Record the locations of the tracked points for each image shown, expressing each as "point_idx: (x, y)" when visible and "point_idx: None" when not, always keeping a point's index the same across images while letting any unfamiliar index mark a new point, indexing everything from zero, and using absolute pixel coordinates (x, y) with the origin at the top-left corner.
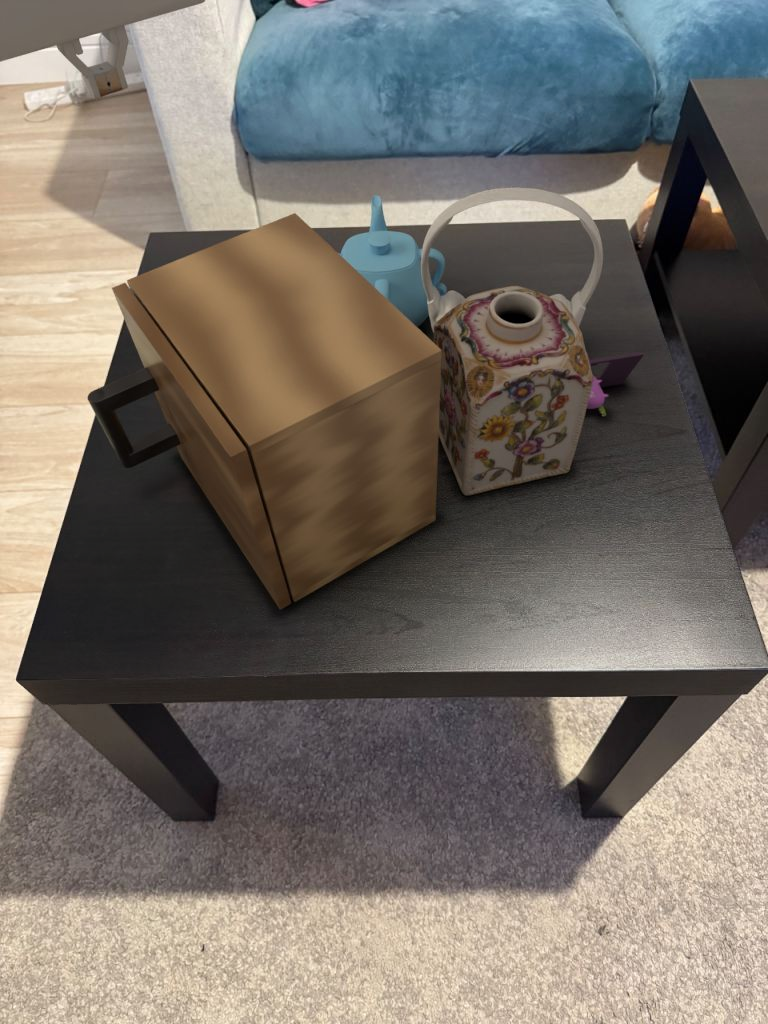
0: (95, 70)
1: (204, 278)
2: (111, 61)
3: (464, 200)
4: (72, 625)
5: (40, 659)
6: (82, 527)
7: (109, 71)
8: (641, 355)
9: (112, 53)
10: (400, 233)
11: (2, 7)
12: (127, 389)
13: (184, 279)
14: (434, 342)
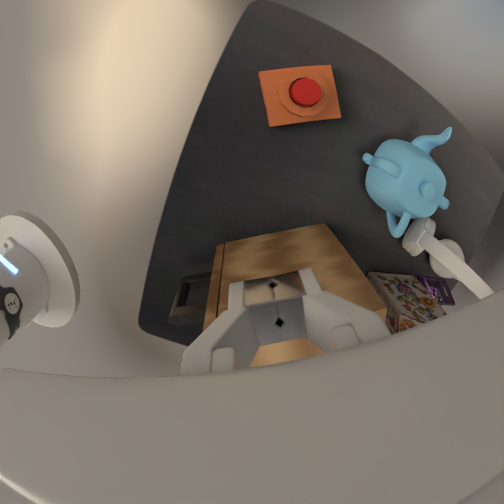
0: (264, 327)
1: (279, 360)
2: (311, 324)
3: (475, 280)
4: (152, 318)
5: (140, 326)
6: (154, 270)
7: (293, 338)
8: (453, 305)
9: (324, 332)
10: (442, 176)
11: None
12: (195, 322)
13: (264, 358)
14: (393, 310)
